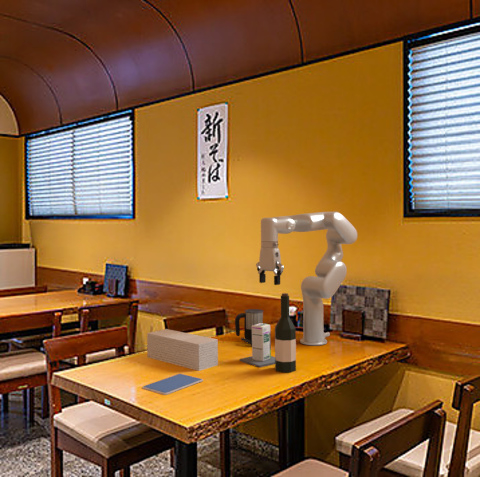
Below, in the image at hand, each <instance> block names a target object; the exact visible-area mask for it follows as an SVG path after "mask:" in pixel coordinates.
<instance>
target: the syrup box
mask: <svg viewBox="0 0 480 477" xmlns="http://www.w3.org/2000/svg"><path fill="white" fill-rule="evenodd" d="M271 340H272V339H271V324H268V323H259V324H256V325H252V345H251V346H252V347H251V351H252V352H251V356H252V359H253V360H257V361H265V360H268V359H271V356H272V350H271V349H272V346H271V345H272V344H271V342H272V341H271Z"/></svg>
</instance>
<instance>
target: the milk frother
mask: <svg viewBox="0 0 480 477" xmlns="http://www.w3.org/2000/svg"><path fill="white" fill-rule="evenodd" d="M243 318H244V322H243V323H244V325H243V326H244V327H243V328H244V331H243V333H244V334H243V335H244V337H241V338H240V340H241V341H243V342H244V343H246V344H248V345H251V346H252V325H256V324H259V323H263V322H264V321H263V319H264V310H263V309H256V308H251V309H250V308H249V309H245V310H244V312H241V313H238V314H237V315H236V316H235V318H234V323H235V324H234V325H235V334H236V337H240V335H241V328H240V327H241V326H240V320H241V319H243Z"/></svg>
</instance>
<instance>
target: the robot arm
mask: <svg viewBox="0 0 480 477" xmlns="http://www.w3.org/2000/svg"><path fill="white" fill-rule="evenodd" d="M323 230H326V234H325V239H326V243H327V244H326V245H327V248H326V251H325V252H324V254H323V255H322V257H321V259H320V260H319V261H318V263H317V265H316V266H315V269H314V274H315V275H316V276H314V275H312V276H311V275H310V276H306V277H304V278H303V279H302V281H301V284H300V289H301V295H302V303H303V307H302V308H303V310H302V311H303V312H302V313H303V318H302V320H303V324H302V325H303V327H302V328H303V330H302V331H303V336H302V338H300V341H299V342H300V344H303V345H305V346H322V345H326V344H327V343H328V340H327V338H328V337H329V336H331V335H330V332H329V331H327V332H324V303H323V302H324V301H323V299H326V300H328V299H330V298H332V297H333V296H334V295H335V293H336V292H337V291H338V289H339V288H340V286H341V285H342V283H343V281H344V280H345V279H346V276H347V273H348V272H347V269H348V268H347V265H346V264H345V263H344V262H343V261H342V260H343V258H344V252H343V248H342V247H343V246H342V245H353V244H354V243H356V241H357V239H358V231H357V229H356V228H355V226H354V225H353V224H352V223H351V222H350V221H349V220H348V219H347V218H346V217H345V216H344V215H343V214H342V213H340V212H339V211H322V212H320V211H319V212H311V213H310V212H308V213H300V214H295V215H294V214H293V215H284V216H283V215H282V216H273V217H263V218H261V219H260V252H259V257H258V258H259V261H258V262H257V263H256V264H255V266H256V269H257V273H258V274H259V275H258V277H259V283H260V284H263V283H266V272H273V274H274V276H273V285H274V286H279V285H281V276H282V275H283V272H284V269H285V267H284V265H283V264H282V259H281V251H280V248H279V234H281V235H282V234H283V235H285V234H290V233H293V232H294V233H295V232H296V233H298V232H299V233H305V232H306V233H307V232H314V231H315V232H316V231H317V232H318V231H323Z"/></svg>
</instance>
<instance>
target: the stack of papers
mask: <svg viewBox="0 0 480 477" xmlns="http://www.w3.org/2000/svg"><path fill="white" fill-rule="evenodd" d="M146 335H147V336H146V337H147V340H146V341H147V342H146V343H147V345H146V346H147V351H146V352H147V358H150V359H153V360H156V361H161V362H165V363H169V364H172V365H176V366H178V367H179V366H180V367H183V368H186V369H191V370H194V371H197V372H200V371H204V370H207V369H211V368H212V367H216V366H218V365H219V349H218V346H219V345H218V344H219V343H218V341H219V340H218V339H216V338H211V337H208V336H204V335H203V336H202V335H199V334H192V333H188V332H183V331H178V330H173V329H168V328H165V329H160V330H155V331H150V332H147V333H146Z"/></svg>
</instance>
